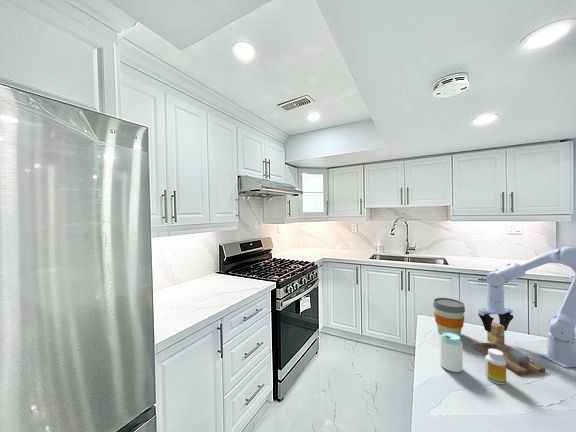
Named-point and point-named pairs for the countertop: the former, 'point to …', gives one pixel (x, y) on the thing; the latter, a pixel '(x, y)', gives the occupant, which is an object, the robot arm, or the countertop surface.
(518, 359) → the gray cube
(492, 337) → the oak peg
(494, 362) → the supplement bottle
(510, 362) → the brown wooden frame
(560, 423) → the countertop surface
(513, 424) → the countertop surface
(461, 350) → the can
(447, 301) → the reusable coffee cup
